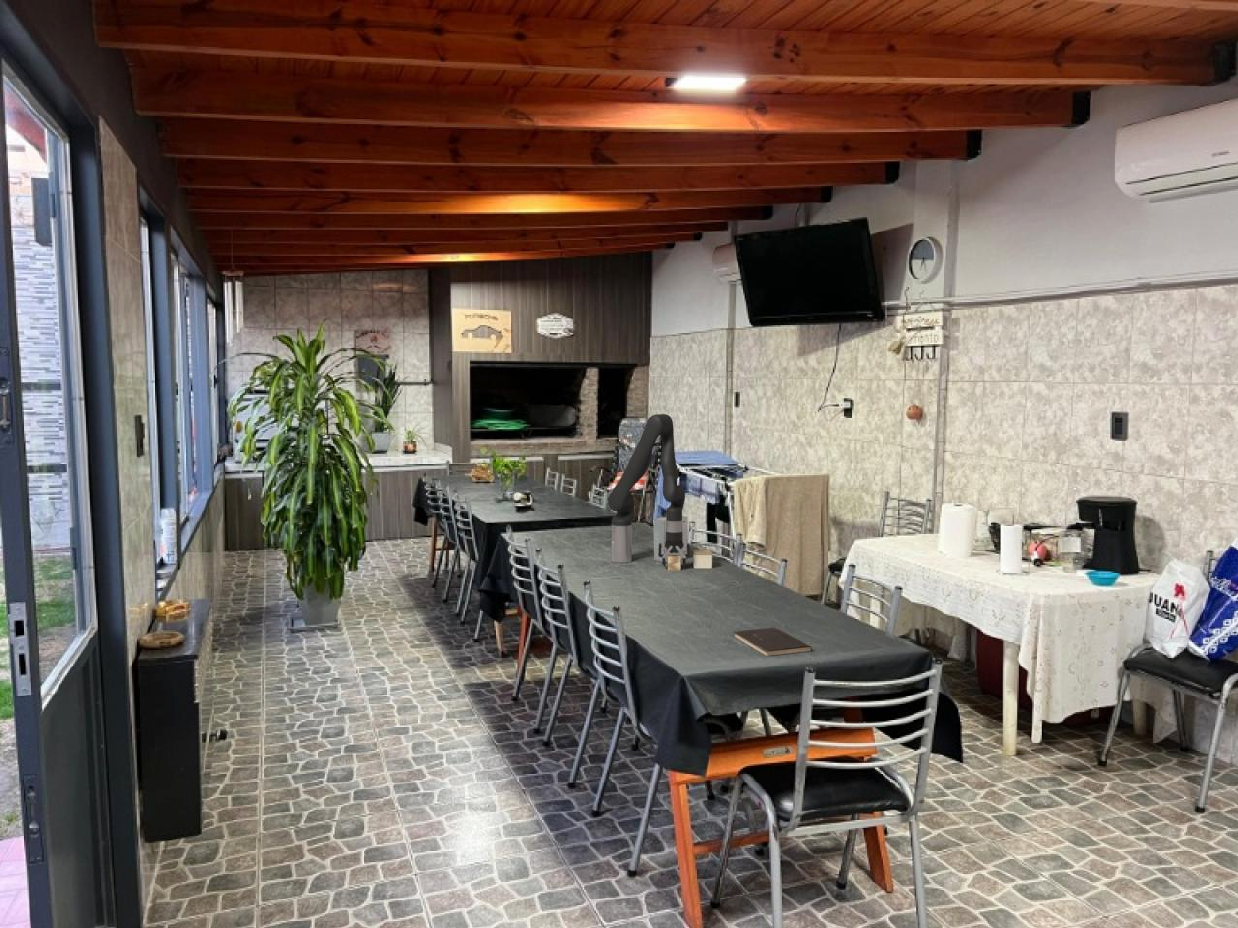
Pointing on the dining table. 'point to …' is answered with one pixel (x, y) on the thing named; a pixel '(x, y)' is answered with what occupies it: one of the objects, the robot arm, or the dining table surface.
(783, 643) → the hardcover book
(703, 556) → the tea tin
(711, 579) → the dining table surface
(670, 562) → the beech block
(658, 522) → the hard drive box
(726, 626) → the dining table surface
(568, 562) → the dining table surface
